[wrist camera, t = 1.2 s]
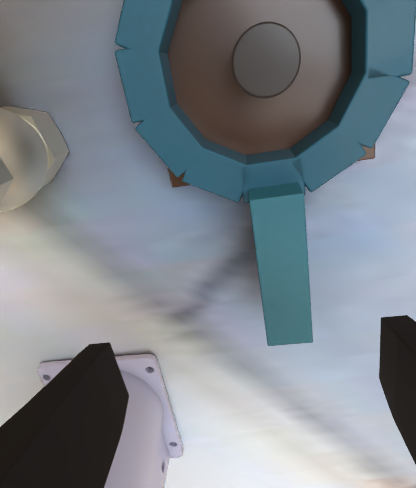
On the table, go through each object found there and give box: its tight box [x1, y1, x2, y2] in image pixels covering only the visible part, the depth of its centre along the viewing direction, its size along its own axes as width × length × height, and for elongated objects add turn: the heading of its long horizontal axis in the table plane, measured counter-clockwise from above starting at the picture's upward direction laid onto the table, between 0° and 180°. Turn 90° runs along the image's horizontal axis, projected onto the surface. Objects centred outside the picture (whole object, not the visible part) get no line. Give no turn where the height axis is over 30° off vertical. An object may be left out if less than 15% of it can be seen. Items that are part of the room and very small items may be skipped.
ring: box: [115, 0, 416, 346], centre depth 14 cm, size 17×10×3 cm, turn 10°
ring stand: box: [168, 0, 375, 187], centre depth 13 cm, size 9×9×6 cm
